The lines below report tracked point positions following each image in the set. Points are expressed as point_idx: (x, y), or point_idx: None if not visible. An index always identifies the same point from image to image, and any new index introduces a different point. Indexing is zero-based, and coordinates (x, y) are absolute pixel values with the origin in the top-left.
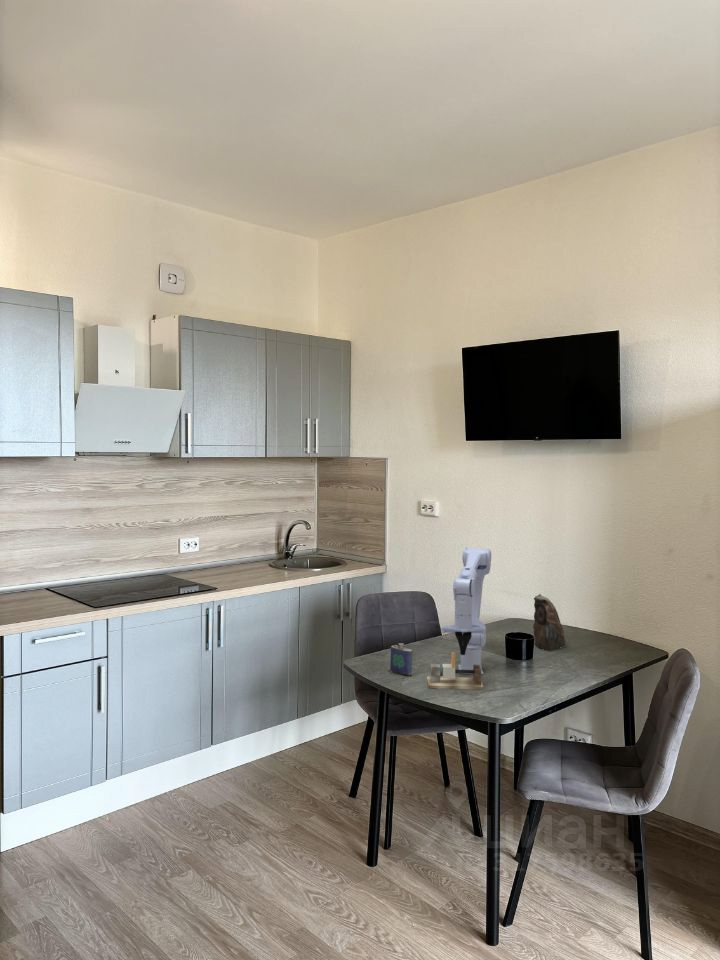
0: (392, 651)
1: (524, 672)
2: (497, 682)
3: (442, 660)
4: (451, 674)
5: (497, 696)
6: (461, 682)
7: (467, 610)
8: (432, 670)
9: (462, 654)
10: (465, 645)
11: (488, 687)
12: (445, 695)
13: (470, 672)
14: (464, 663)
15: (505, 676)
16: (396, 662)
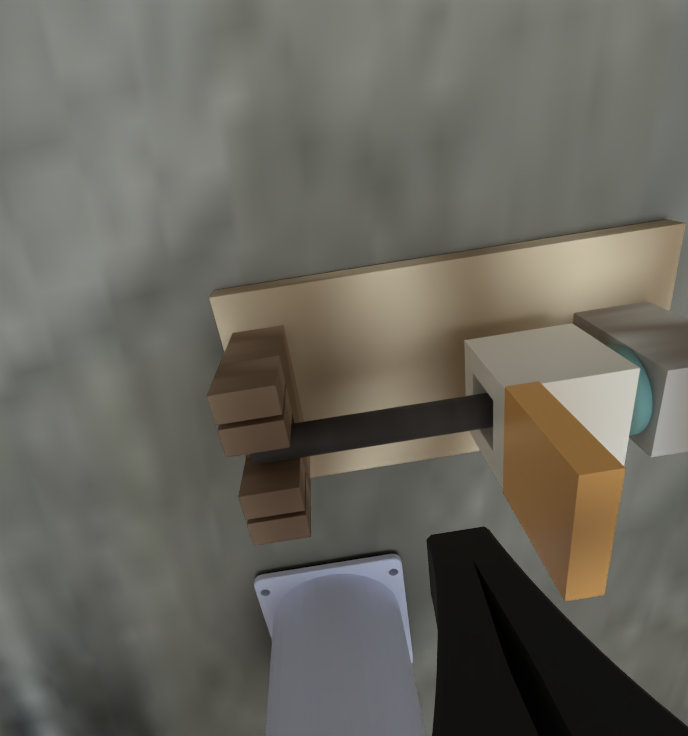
0: None
1: (12, 659)
2: (135, 470)
3: None
4: (511, 351)
5: (53, 134)
6: (397, 359)
7: None
8: None
9: (469, 533)
10: (479, 681)
11: (180, 354)
12: (544, 49)
13: (330, 419)
14: (384, 631)
15: (109, 579)
16: None
